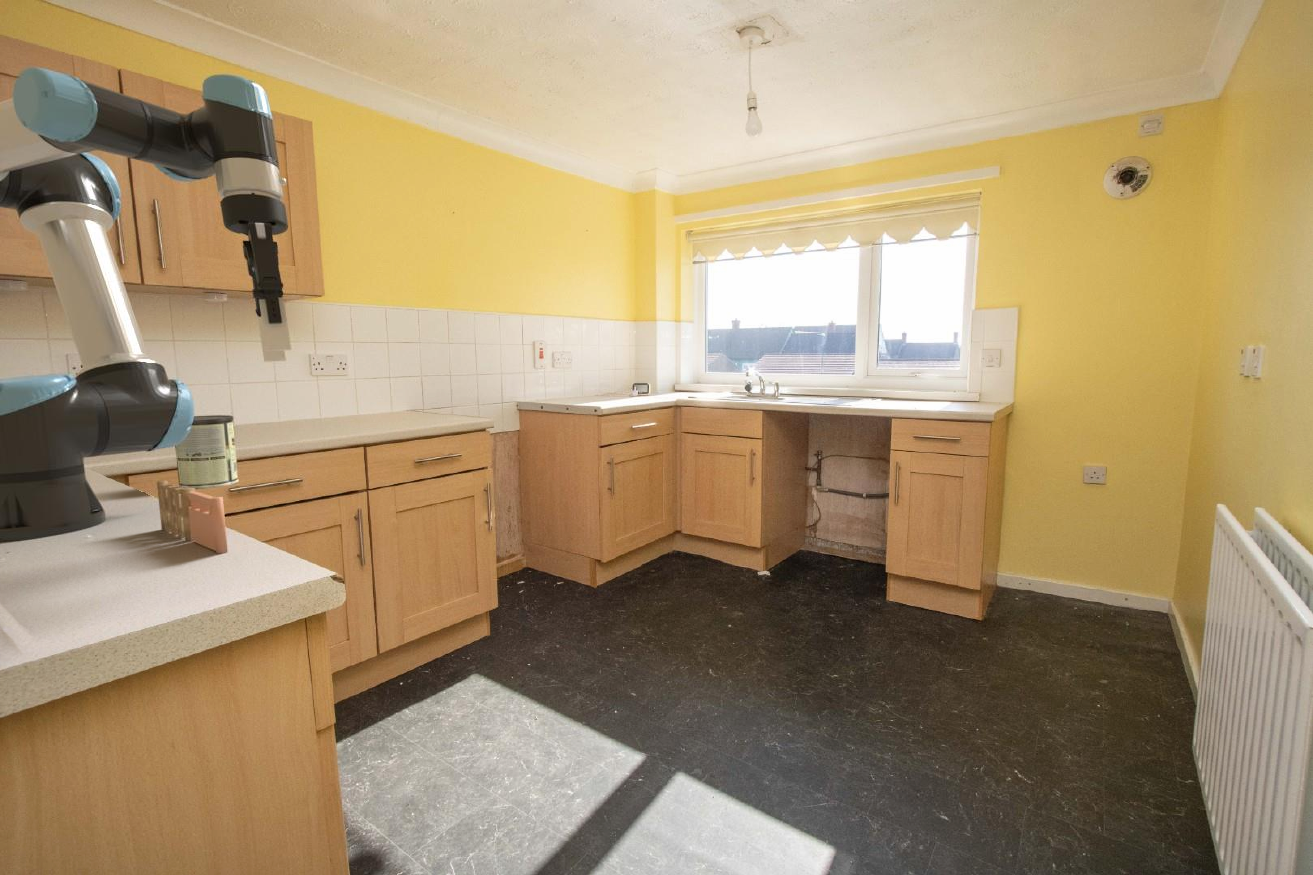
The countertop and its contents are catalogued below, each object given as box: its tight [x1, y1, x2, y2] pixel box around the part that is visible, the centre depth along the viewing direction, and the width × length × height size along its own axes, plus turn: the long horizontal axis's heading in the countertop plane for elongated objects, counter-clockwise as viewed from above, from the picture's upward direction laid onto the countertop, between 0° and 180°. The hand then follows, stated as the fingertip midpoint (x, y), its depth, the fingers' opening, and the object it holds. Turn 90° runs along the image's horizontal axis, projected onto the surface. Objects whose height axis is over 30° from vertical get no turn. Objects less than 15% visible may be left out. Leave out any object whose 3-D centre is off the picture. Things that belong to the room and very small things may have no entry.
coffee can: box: [174, 414, 240, 490], centre depth 129 cm, size 10×10×14 cm
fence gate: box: [188, 490, 229, 555], centre depth 82 cm, size 9×1×7 cm, turn 55°
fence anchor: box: [156, 480, 196, 543], centre depth 88 cm, size 11×2×8 cm, turn 55°
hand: (277, 356), depth 86 cm, fingers open, 13 cm apart
